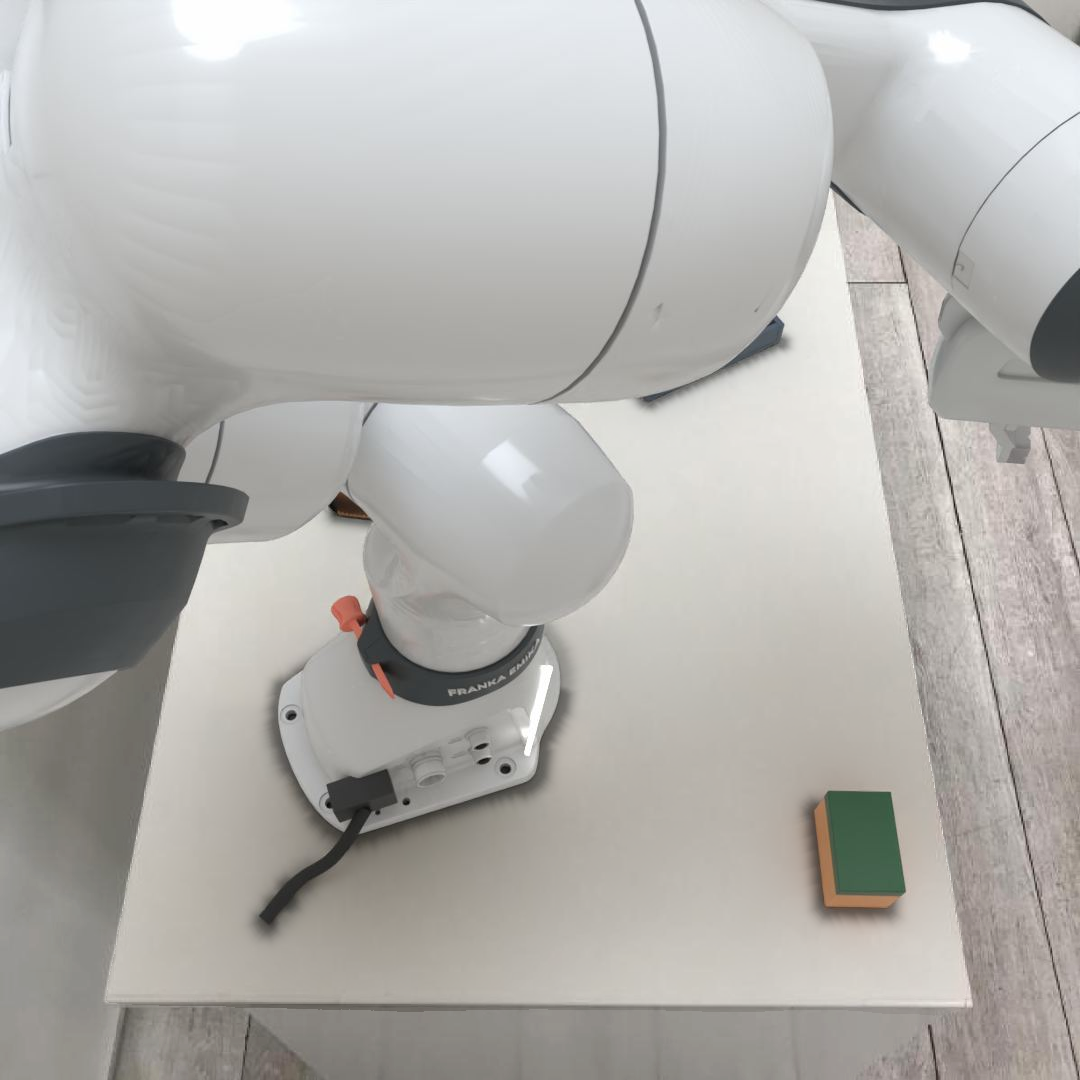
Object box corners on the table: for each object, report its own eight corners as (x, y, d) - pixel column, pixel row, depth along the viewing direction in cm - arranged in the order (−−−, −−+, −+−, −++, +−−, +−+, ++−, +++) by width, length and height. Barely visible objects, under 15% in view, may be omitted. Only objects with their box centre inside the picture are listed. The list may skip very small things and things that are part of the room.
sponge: (887, 907, 76) (906, 892, 72) (824, 906, 77) (839, 891, 72) (873, 811, 80) (891, 791, 76) (813, 810, 80) (827, 790, 76)
